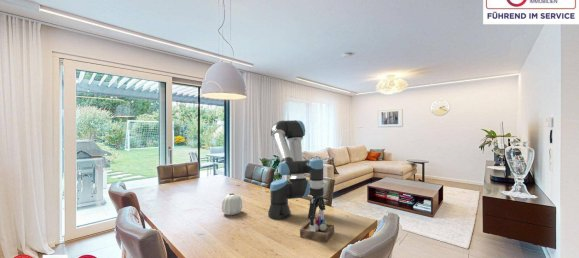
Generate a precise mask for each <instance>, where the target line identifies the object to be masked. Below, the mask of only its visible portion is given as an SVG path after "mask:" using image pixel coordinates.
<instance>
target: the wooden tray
mask: <svg viewBox="0 0 579 258" xmlns="http://www.w3.org/2000/svg"><path fill="white" fill-rule="evenodd" d="M326 224H327V226H326V227H327V228H326V230H325V231H320V229H318V231H317V232H316V231H315V232H314V231H310V227H309V225H310V220H307V222H306V223H305V224H304V225H303V226H301V227H300V229H299V237H300V238H304V239H308V240H311V241H317V242H321V243H328V241H330V239H332V236H333V235H334V234H335V224H332V223H326ZM318 227H319V226H318Z"/></svg>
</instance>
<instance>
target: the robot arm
mask: <svg viewBox="0 0 579 258" xmlns="http://www.w3.org/2000/svg"><path fill="white" fill-rule="evenodd" d="M305 135H306V127H305V123H303V121H301V120H298V119H297V120H292V119H291V120H279V121H277V122H276V123H274V124H273V125H272V127H271V130H270V137H271V139H272V140H273V141H274V145H275V147H276V151H277V155H278V158H279V161H280V162H279V163H278V166H277V168H278V173H279V174H280V175H281V176H290V177H289V180H288V179H285V178H284V179H281V178H280V179H276V180H274V181H272V182H271V183H270V186H269V188H270V189H269V193H270V205H269V208H268V214H267V215H268V216H267V217H268V219H269V218H270V219H272V220H278V221H279V220H285V219H289V218H291V215H292V212H291V209H290V206H289V200H295V199H302V198H308V196H309V195H311V196H312V198H310V199H309V208H308V209H309V210H308V213H307V214H308V215H307V219H308V220H309V221H310V231H314V232H315V219H314V218H315V217H316V215H317V214H316V213H317V209H318V216H320V217H321V219H322V218H325V214H324V213H325V211H326V204H325V203H326V202H325V200H324V193H325V191H324V184H325V181H324V160H323V159H322V158H310V159H304V160H303V149H302V140H304V137H305ZM287 141H288V142H287ZM288 143H289V145H288ZM304 174H307V175H308V174H309V180H308V179H307V177H306V176H305V175H304Z"/></svg>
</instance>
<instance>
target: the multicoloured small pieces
mask: <svg viewBox="0 0 579 258" xmlns="http://www.w3.org/2000/svg"><path fill="white" fill-rule="evenodd" d="M314 219H315V231H316V232H317V231H318V229H320V231H325V230H326V228H327V227H326V226H327V224H328V223H326V219H325V217H324V218H322V219H321V217H320V216H319V215H318V216H317V218H316V216H315V218H314ZM318 226H319V227H318ZM309 227H310V225H309Z"/></svg>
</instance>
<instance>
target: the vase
mask: <svg viewBox="0 0 579 258" xmlns="http://www.w3.org/2000/svg"><path fill="white" fill-rule="evenodd" d="M242 210H243V200H242V198H241V196H240V195H239V194H237V193H234V192H233V193H228V194H226V195H225V196H224V197H223V200H222V203H221V212H222V213H223V214H224V215H227V216H234V215H237V214H239V213H241V212H242Z"/></svg>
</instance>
